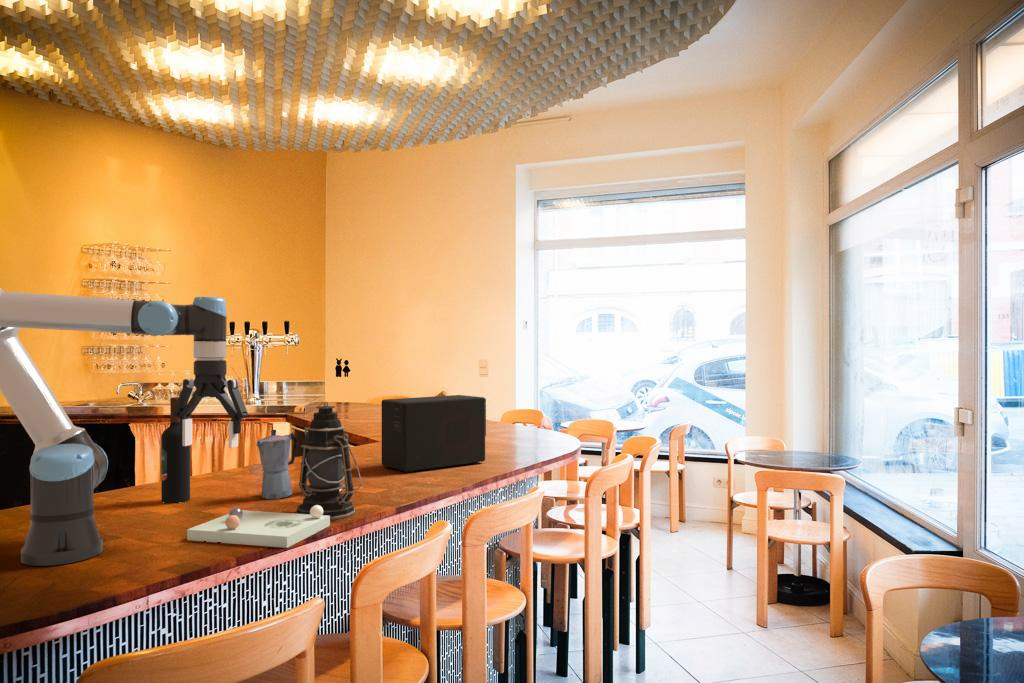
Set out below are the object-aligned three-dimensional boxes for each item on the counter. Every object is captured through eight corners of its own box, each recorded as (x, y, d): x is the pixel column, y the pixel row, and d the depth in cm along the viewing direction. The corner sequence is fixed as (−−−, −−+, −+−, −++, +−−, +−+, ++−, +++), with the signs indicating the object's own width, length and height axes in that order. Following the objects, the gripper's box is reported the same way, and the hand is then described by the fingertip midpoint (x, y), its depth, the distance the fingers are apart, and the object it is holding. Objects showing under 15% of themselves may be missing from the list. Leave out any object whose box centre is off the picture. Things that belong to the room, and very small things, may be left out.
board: (287, 547, 164) (287, 536, 164) (187, 540, 170) (187, 529, 170) (329, 525, 183) (329, 515, 183) (238, 519, 190) (238, 509, 190)
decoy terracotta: (234, 531, 169) (234, 517, 169) (222, 530, 170) (222, 516, 169) (242, 527, 172) (242, 514, 172) (230, 526, 173) (230, 513, 173)
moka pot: (245, 499, 214) (245, 431, 214) (284, 489, 227) (284, 425, 227) (269, 502, 209) (269, 433, 209) (307, 492, 223) (307, 427, 223)
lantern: (276, 515, 194) (276, 402, 194) (321, 503, 208) (321, 398, 208) (330, 525, 184) (330, 406, 184) (374, 512, 197) (374, 401, 197)
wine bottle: (179, 504, 207) (178, 398, 207) (155, 503, 209) (155, 398, 208) (195, 498, 214) (195, 396, 214) (172, 497, 216) (172, 396, 216)
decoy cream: (319, 520, 179) (319, 507, 179) (307, 519, 180) (307, 506, 180) (325, 516, 182) (325, 504, 182) (314, 516, 183) (314, 503, 183)
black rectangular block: (460, 456, 291) (460, 394, 291) (490, 463, 276) (490, 397, 276) (376, 467, 268) (376, 399, 267) (403, 474, 252) (403, 402, 252)
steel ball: (237, 522, 176) (237, 509, 176) (226, 521, 177) (226, 508, 177) (245, 519, 180) (245, 506, 180) (234, 518, 180) (234, 505, 180)
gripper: (262, 359, 181) (263, 445, 181) (177, 358, 187) (177, 442, 187) (245, 360, 174) (245, 450, 174) (156, 359, 179) (157, 446, 179)
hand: (210, 446), depth 180 cm, fingers open, 12 cm apart
